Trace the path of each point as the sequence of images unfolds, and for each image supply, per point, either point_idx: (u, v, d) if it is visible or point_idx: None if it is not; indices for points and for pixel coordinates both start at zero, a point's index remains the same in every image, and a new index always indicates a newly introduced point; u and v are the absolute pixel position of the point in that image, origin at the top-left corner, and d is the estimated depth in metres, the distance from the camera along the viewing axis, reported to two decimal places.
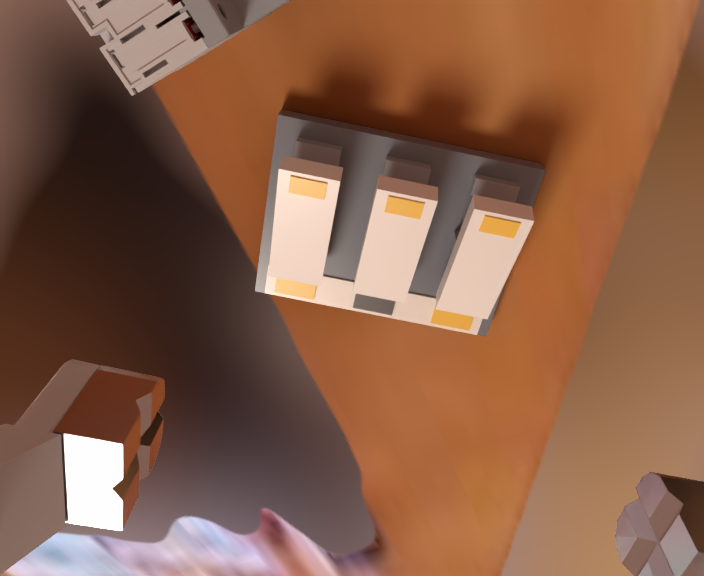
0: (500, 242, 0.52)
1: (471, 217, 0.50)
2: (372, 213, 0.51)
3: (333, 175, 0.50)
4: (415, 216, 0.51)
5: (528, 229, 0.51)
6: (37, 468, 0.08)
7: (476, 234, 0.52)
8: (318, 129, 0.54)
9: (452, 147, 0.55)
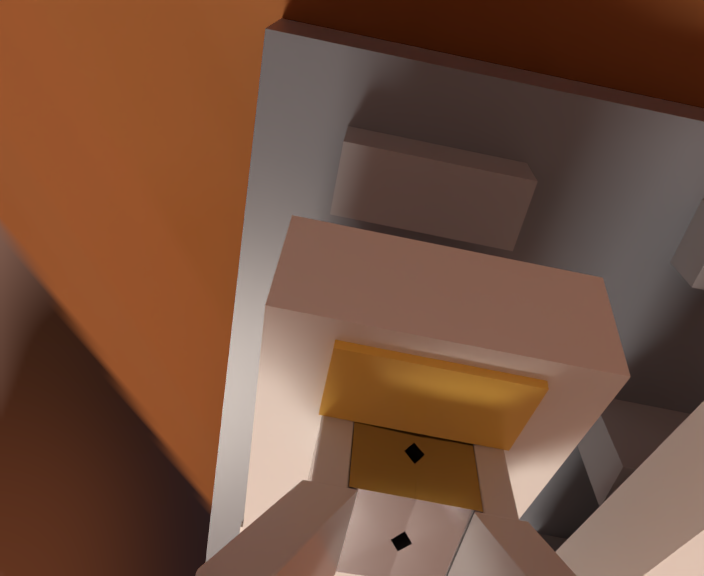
0: None
1: None
2: None
3: (577, 334, 0.09)
4: None
5: None
6: (338, 524, 0.08)
7: None
8: (435, 93, 0.13)
9: None
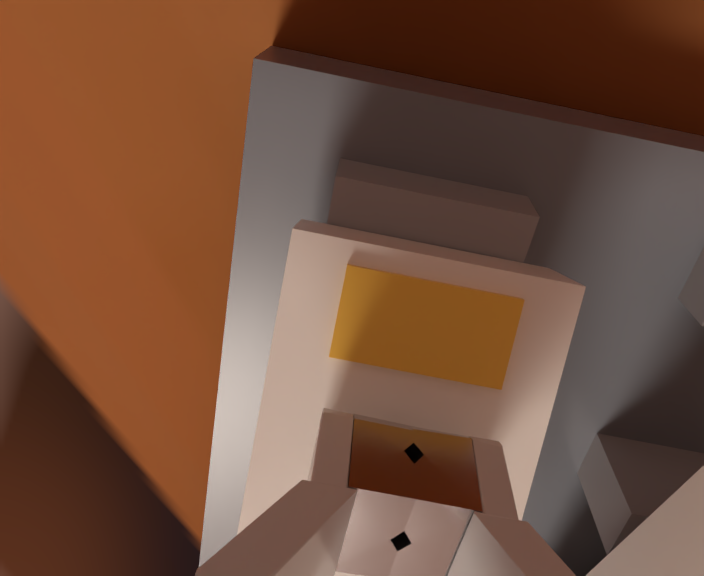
0: None
1: None
2: None
3: (538, 273, 0.11)
4: None
5: None
6: (338, 524, 0.08)
7: None
8: (431, 124, 0.12)
9: None
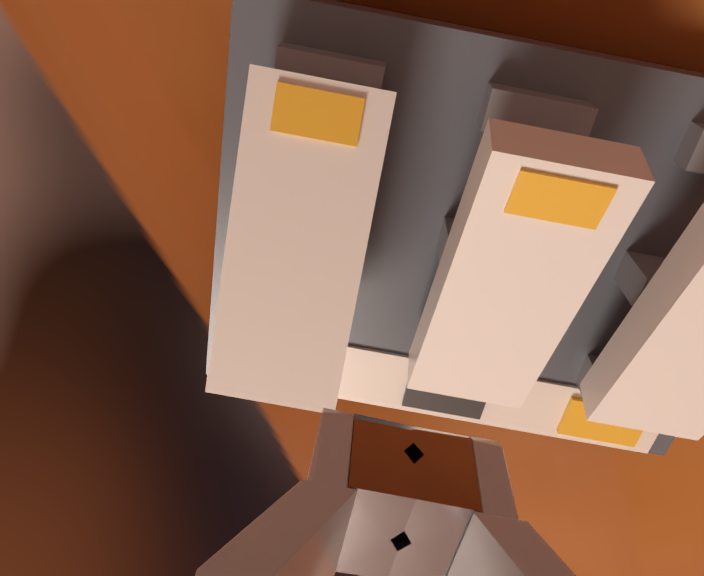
0: None
1: None
2: (471, 216, 0.20)
3: None
4: (585, 224, 0.20)
5: None
6: (338, 524, 0.08)
7: None
8: (329, 20, 0.23)
9: (637, 62, 0.24)
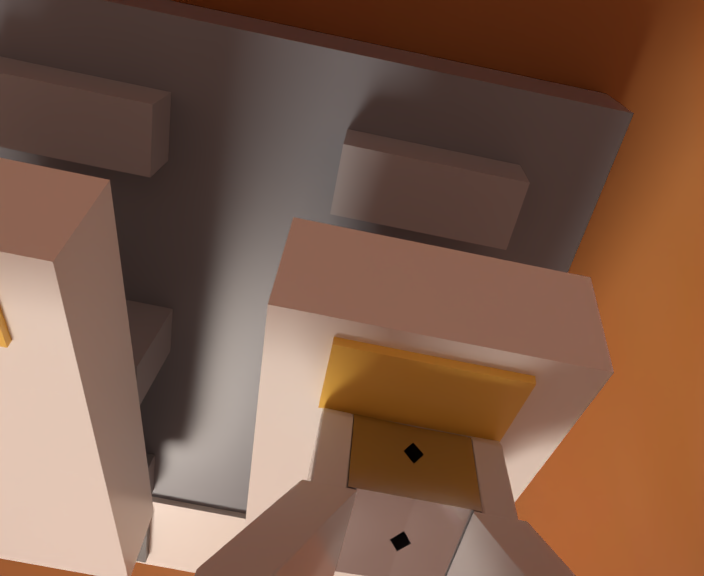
0: None
1: (267, 344, 0.09)
2: None
3: None
4: None
5: (577, 407, 0.09)
6: (337, 524, 0.08)
7: (315, 416, 0.10)
8: None
9: (261, 25, 0.14)
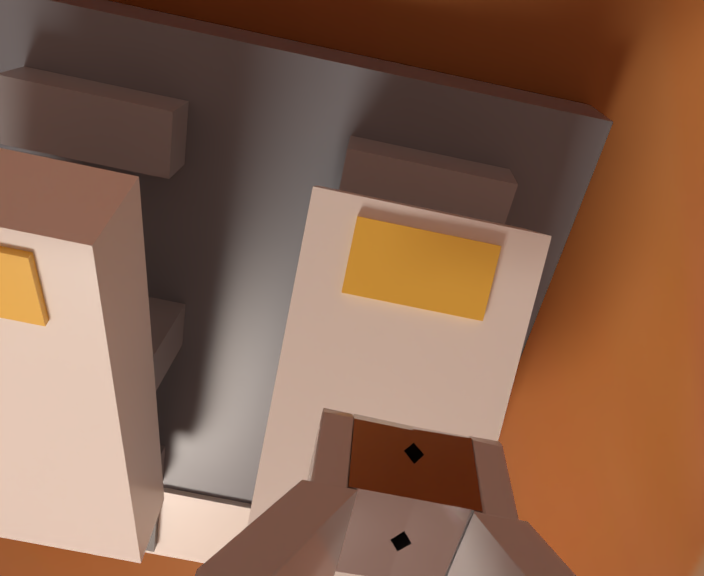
0: (433, 349, 0.13)
1: (307, 231, 0.13)
2: None
3: None
4: (22, 316, 0.11)
5: (534, 277, 0.13)
6: (338, 524, 0.08)
7: (336, 314, 0.13)
8: None
9: (272, 41, 0.15)
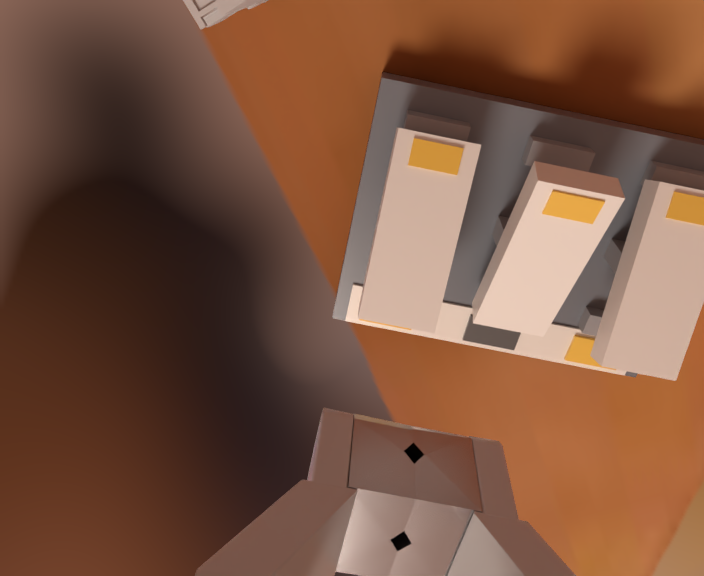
0: (694, 237, 0.38)
1: (655, 196, 0.37)
2: (523, 215, 0.36)
3: None
4: (587, 220, 0.35)
5: None
6: (338, 524, 0.08)
7: (662, 225, 0.38)
8: (437, 98, 0.39)
9: (619, 124, 0.40)
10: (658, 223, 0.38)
